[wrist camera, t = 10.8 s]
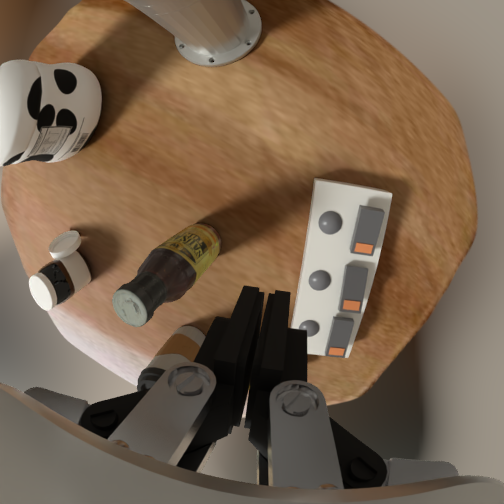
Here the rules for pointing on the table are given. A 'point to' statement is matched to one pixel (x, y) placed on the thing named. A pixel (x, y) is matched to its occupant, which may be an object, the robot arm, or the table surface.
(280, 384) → the robot arm
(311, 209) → the rocker switch panel
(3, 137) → the milk container
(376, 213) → the rocker
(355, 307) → the rocker middle
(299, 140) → the table surface
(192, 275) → the sauce bottle
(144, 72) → the table surface
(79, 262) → the spread jar
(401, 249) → the table surface
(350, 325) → the rocker
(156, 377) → the coffee cup
